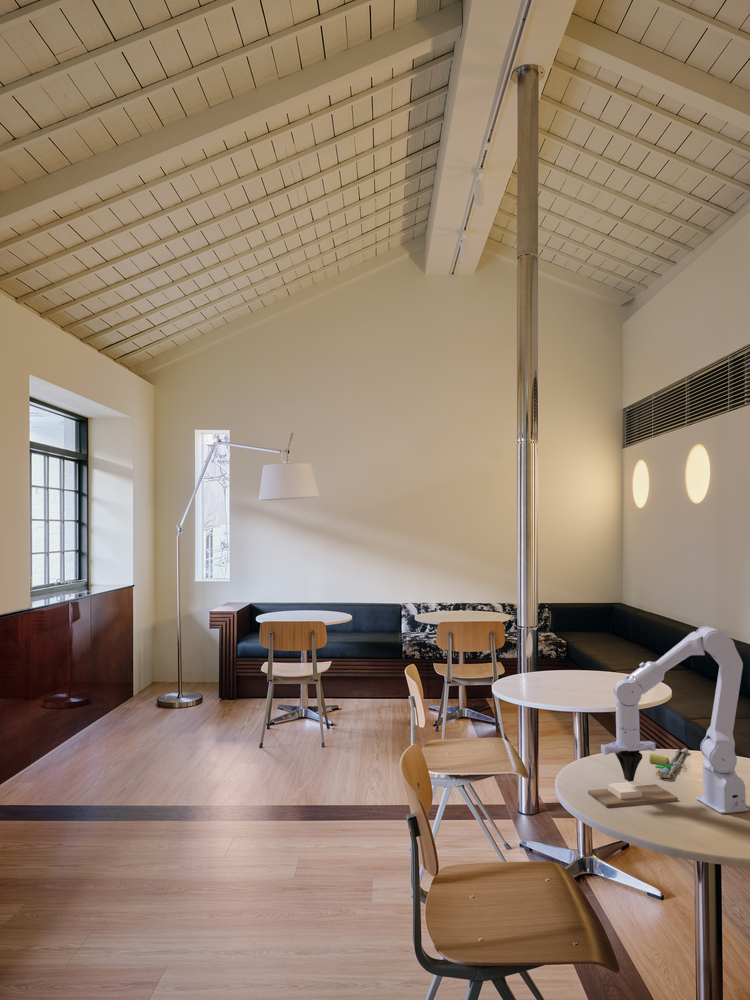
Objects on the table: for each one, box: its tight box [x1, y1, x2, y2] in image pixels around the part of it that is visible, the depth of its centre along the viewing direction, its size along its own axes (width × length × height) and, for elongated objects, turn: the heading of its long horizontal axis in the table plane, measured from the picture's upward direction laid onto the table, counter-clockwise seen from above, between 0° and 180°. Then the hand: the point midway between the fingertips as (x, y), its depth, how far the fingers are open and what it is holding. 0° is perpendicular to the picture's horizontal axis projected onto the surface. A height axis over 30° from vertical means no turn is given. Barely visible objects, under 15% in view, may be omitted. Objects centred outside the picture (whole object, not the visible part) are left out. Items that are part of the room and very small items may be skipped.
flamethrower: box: [648, 747, 689, 779], centre depth 195 cm, size 29×3×10 cm
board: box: [587, 784, 679, 808], centre depth 170 cm, size 9×20×1 cm, turn 101°
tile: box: [607, 781, 642, 799], centre depth 171 cm, size 6×2×6 cm
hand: (629, 780), depth 171 cm, fingers closed
